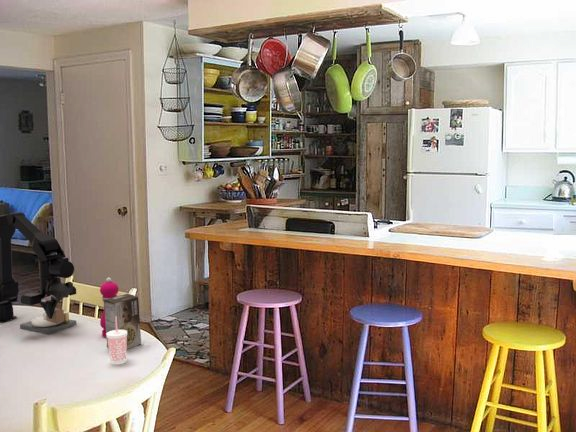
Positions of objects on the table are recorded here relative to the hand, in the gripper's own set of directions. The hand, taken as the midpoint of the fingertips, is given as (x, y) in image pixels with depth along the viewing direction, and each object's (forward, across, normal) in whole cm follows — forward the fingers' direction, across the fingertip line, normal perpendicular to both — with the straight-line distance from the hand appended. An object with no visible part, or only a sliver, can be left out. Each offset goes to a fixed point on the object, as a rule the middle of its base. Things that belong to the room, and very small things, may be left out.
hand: (50, 318), depth 211 cm
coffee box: (+5, +2, -34) cm, 34 cm away
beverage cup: (+5, -8, -43) cm, 44 cm away
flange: (+3, +3, +5) cm, 6 cm away
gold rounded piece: (+3, +6, 0) cm, 7 cm away
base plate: (+5, +3, +6) cm, 8 cm away
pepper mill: (+5, +8, -22) cm, 23 cm away
